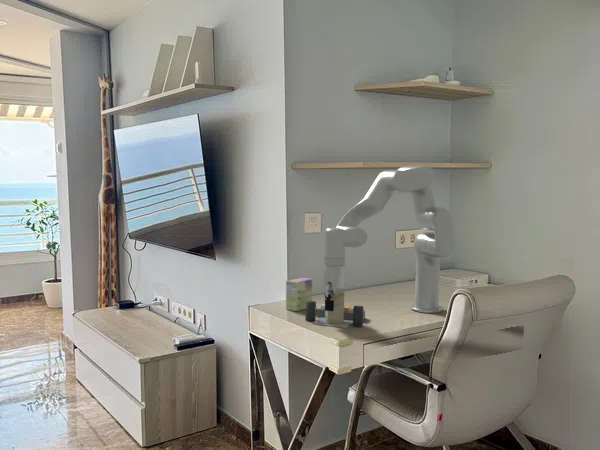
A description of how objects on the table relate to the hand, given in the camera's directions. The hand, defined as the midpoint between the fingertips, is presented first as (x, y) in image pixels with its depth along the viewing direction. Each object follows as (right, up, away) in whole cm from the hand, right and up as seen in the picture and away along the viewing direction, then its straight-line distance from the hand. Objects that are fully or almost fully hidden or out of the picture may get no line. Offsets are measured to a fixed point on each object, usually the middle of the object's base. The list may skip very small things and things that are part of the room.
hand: (333, 308), depth 203 cm
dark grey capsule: (+8, -6, -3) cm, 11 cm away
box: (-13, -4, +23) cm, 27 cm away
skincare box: (0, -5, +1) cm, 5 cm away
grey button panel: (+1, -5, +4) cm, 7 cm away
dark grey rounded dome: (-9, -5, +4) cm, 11 cm away
